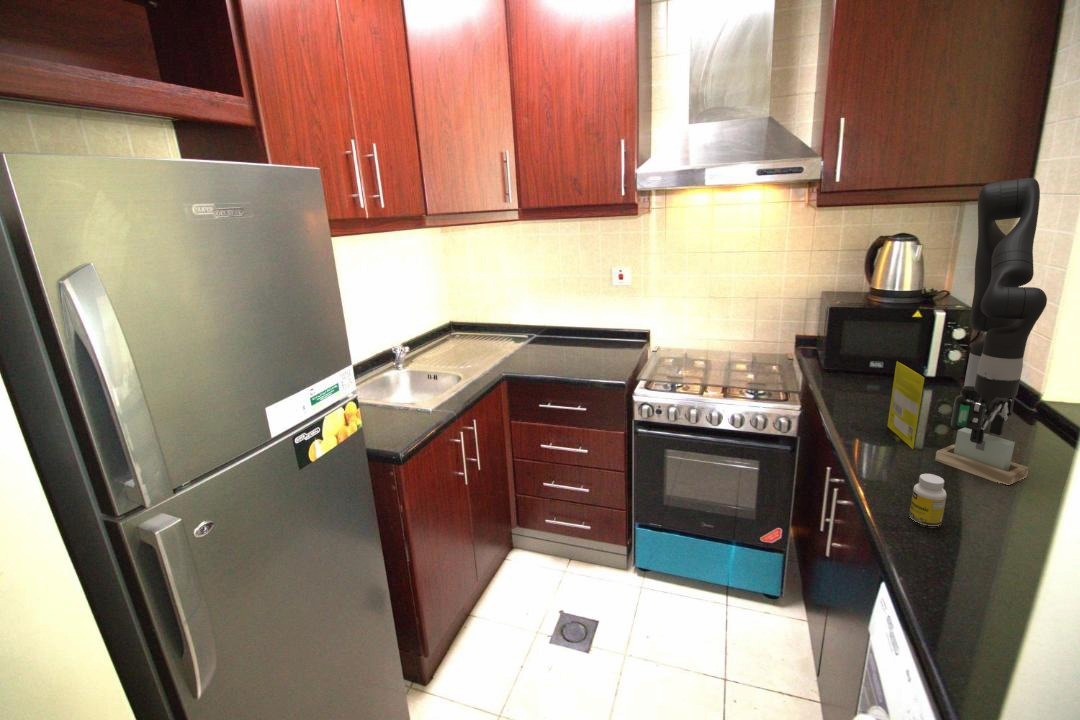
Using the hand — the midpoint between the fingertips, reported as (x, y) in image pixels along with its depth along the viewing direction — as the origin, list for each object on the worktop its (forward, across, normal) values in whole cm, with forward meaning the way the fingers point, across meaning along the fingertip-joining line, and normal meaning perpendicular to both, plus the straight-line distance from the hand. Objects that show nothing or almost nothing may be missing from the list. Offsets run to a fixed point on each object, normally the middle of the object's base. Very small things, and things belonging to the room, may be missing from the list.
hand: (985, 438), depth 121 cm
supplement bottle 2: (+9, -23, -14) cm, 28 cm away
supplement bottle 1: (+8, +33, +6) cm, 35 cm away
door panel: (+7, 0, 0) cm, 7 cm away
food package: (+8, -2, -20) cm, 22 cm away
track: (+8, 0, 0) cm, 8 cm away
